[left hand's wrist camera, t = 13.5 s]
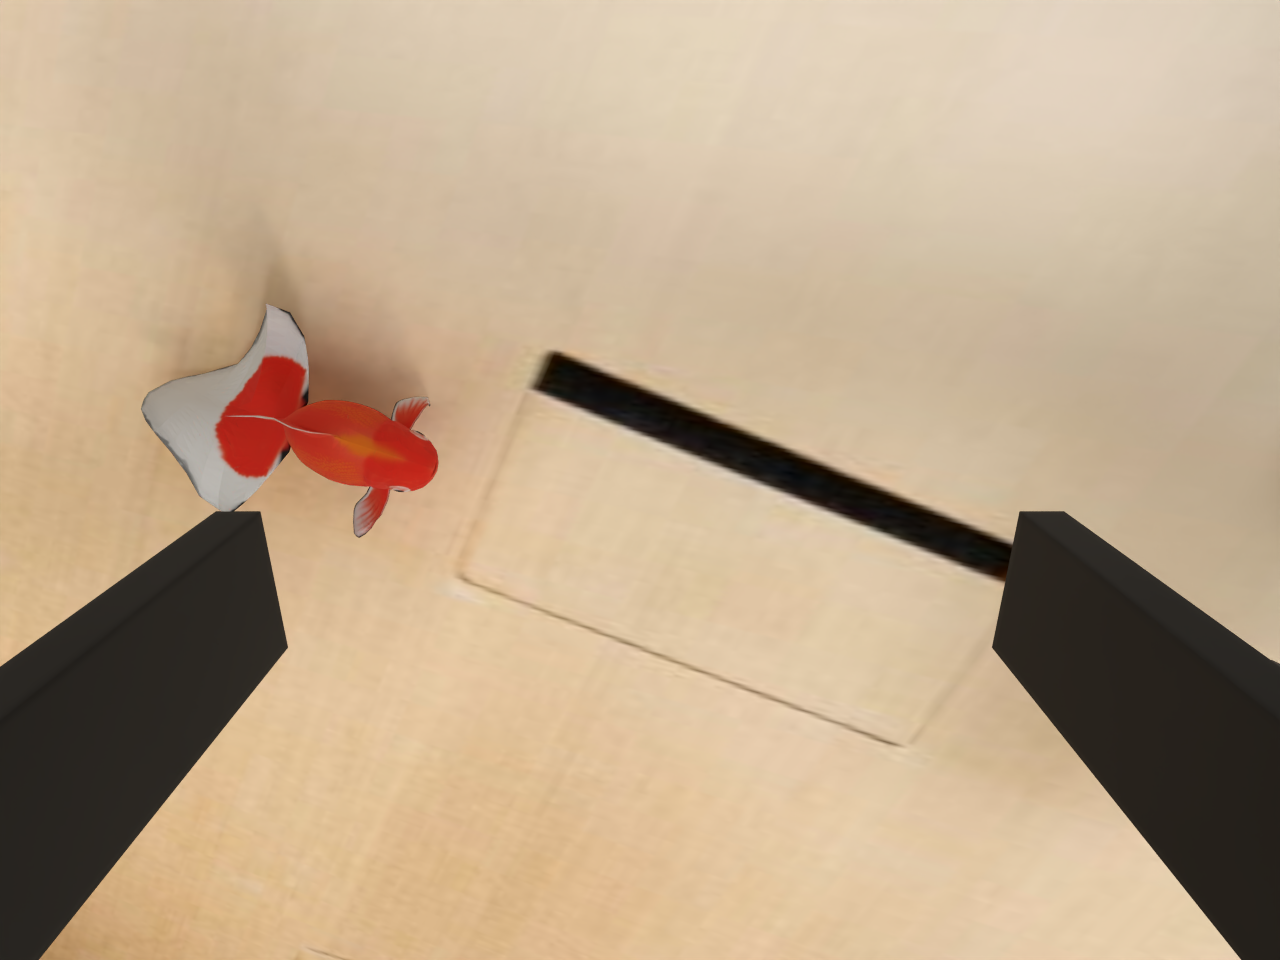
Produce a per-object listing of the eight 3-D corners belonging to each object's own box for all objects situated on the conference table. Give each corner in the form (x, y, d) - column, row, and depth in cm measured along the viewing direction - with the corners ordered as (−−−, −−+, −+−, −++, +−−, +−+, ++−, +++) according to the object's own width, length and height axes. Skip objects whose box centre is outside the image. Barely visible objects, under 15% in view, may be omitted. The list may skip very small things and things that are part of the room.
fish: (390, 610, 39) (263, 613, 30) (204, 458, 43) (38, 416, 34) (502, 448, 40) (413, 399, 30) (308, 311, 44) (173, 228, 34)
